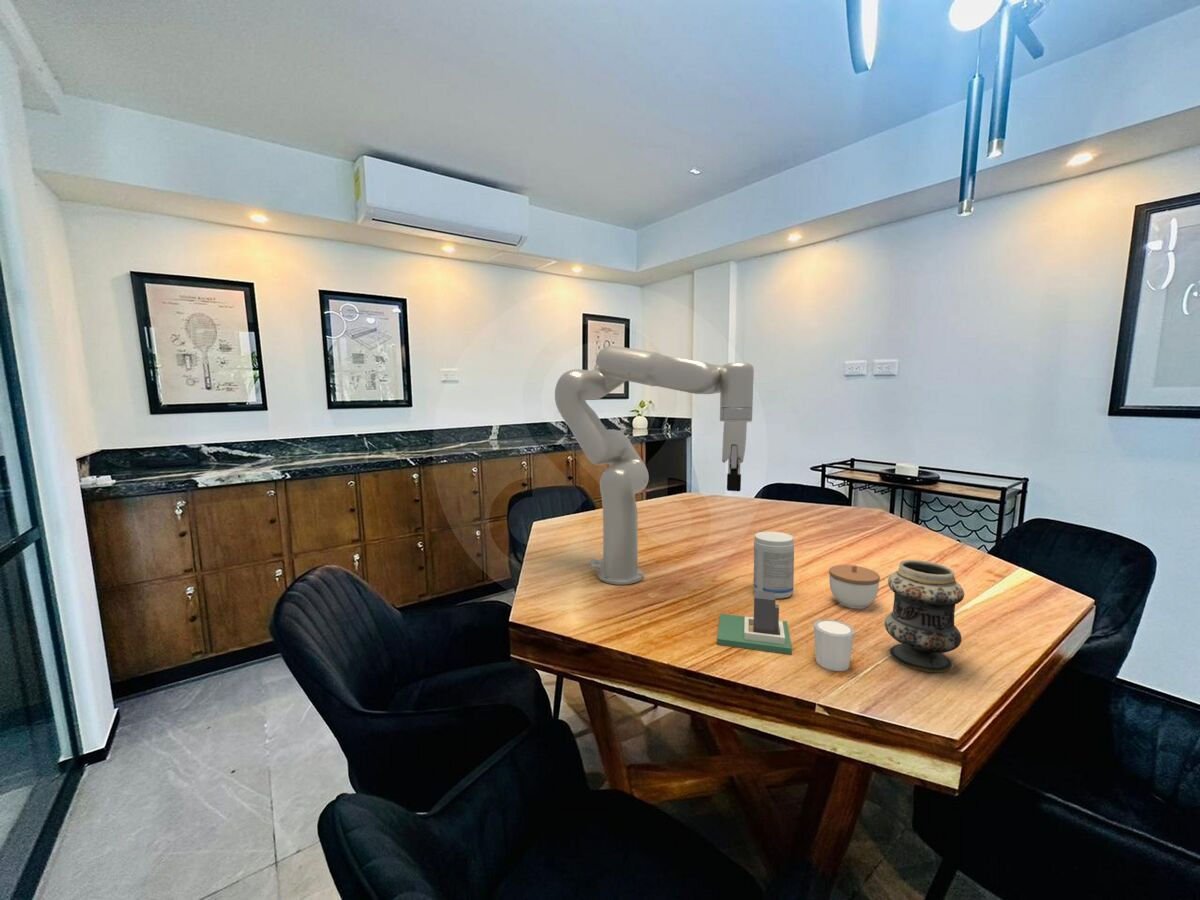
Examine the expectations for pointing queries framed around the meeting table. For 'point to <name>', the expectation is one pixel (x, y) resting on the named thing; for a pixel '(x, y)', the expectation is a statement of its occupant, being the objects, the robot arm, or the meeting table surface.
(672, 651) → the meeting table surface
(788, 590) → the supplement tub
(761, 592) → the plug
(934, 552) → the meeting table surface
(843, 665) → the white cylinder
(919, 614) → the apothecary jar
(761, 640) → the board
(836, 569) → the lidded jar
